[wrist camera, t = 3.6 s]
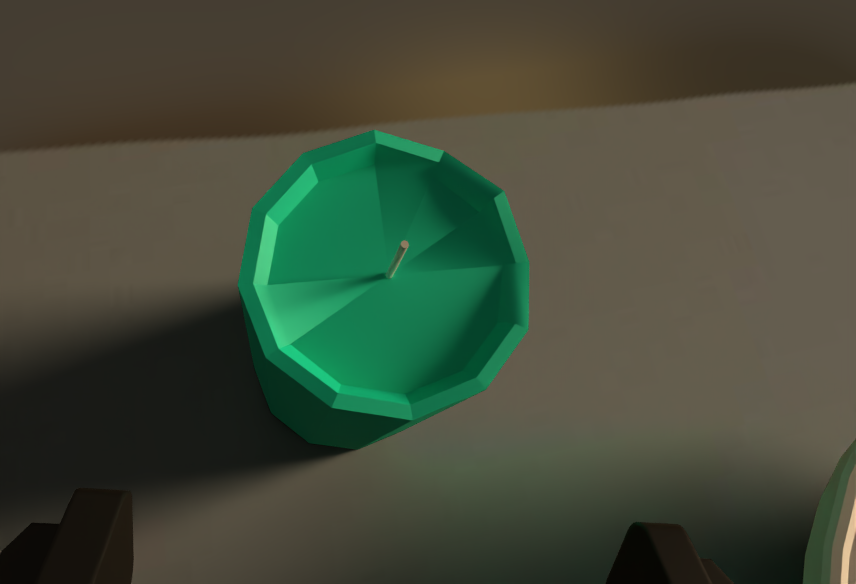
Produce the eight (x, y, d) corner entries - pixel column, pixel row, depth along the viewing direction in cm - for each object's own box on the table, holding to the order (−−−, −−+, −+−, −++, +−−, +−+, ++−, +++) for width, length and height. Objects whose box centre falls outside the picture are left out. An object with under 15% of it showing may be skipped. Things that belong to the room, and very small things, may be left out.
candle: (395, 479, 24) (500, 469, 13) (221, 405, 24) (167, 326, 12) (460, 314, 26) (604, 175, 14) (301, 242, 25) (319, 41, 14)
